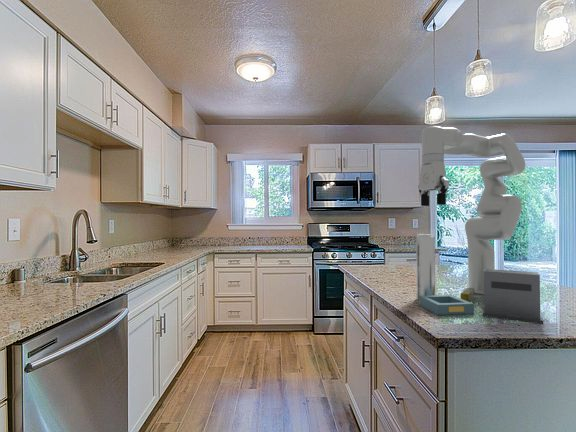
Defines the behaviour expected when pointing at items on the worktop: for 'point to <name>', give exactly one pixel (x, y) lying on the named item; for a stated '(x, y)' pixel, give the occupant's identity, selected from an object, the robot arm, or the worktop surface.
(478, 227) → the robot arm
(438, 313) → the socket block
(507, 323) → the worktop surface
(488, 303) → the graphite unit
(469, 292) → the medication box
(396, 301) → the worktop surface
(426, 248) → the white tall cylinder
